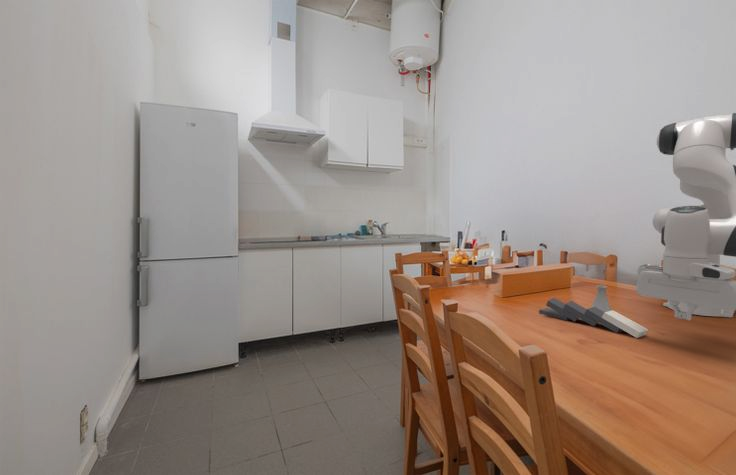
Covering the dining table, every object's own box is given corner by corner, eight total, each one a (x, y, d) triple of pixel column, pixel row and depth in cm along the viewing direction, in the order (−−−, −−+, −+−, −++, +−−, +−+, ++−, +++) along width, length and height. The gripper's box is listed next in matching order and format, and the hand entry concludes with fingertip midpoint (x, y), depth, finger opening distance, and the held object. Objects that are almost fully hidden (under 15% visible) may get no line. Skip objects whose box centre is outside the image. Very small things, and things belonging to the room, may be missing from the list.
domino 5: (636, 338, 95) (601, 317, 103) (645, 335, 97) (610, 315, 105) (640, 332, 94) (604, 312, 102) (648, 329, 97) (612, 310, 105)
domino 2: (575, 321, 110) (545, 305, 117) (580, 317, 113) (551, 302, 120) (577, 317, 109) (548, 300, 116) (583, 313, 112) (554, 297, 119)
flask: (617, 316, 116) (618, 288, 116) (594, 315, 118) (595, 288, 117) (606, 311, 123) (607, 284, 123) (585, 310, 125) (586, 284, 124)
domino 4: (616, 333, 100) (584, 314, 108) (624, 330, 102) (592, 311, 110) (619, 327, 99) (586, 309, 107) (627, 324, 101) (595, 306, 109)
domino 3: (593, 326, 106) (563, 308, 112) (599, 322, 109) (568, 305, 115) (596, 321, 105) (565, 303, 111) (602, 318, 108) (571, 300, 115)
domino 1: (566, 322, 112) (539, 315, 121) (574, 320, 115) (547, 313, 123) (566, 316, 112) (539, 309, 121) (575, 314, 115) (547, 307, 123)
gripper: (632, 263, 95) (631, 311, 96) (735, 273, 77) (733, 331, 78) (643, 262, 98) (641, 308, 99) (745, 271, 80) (742, 327, 81)
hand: (682, 318), depth 88 cm, fingers closed
